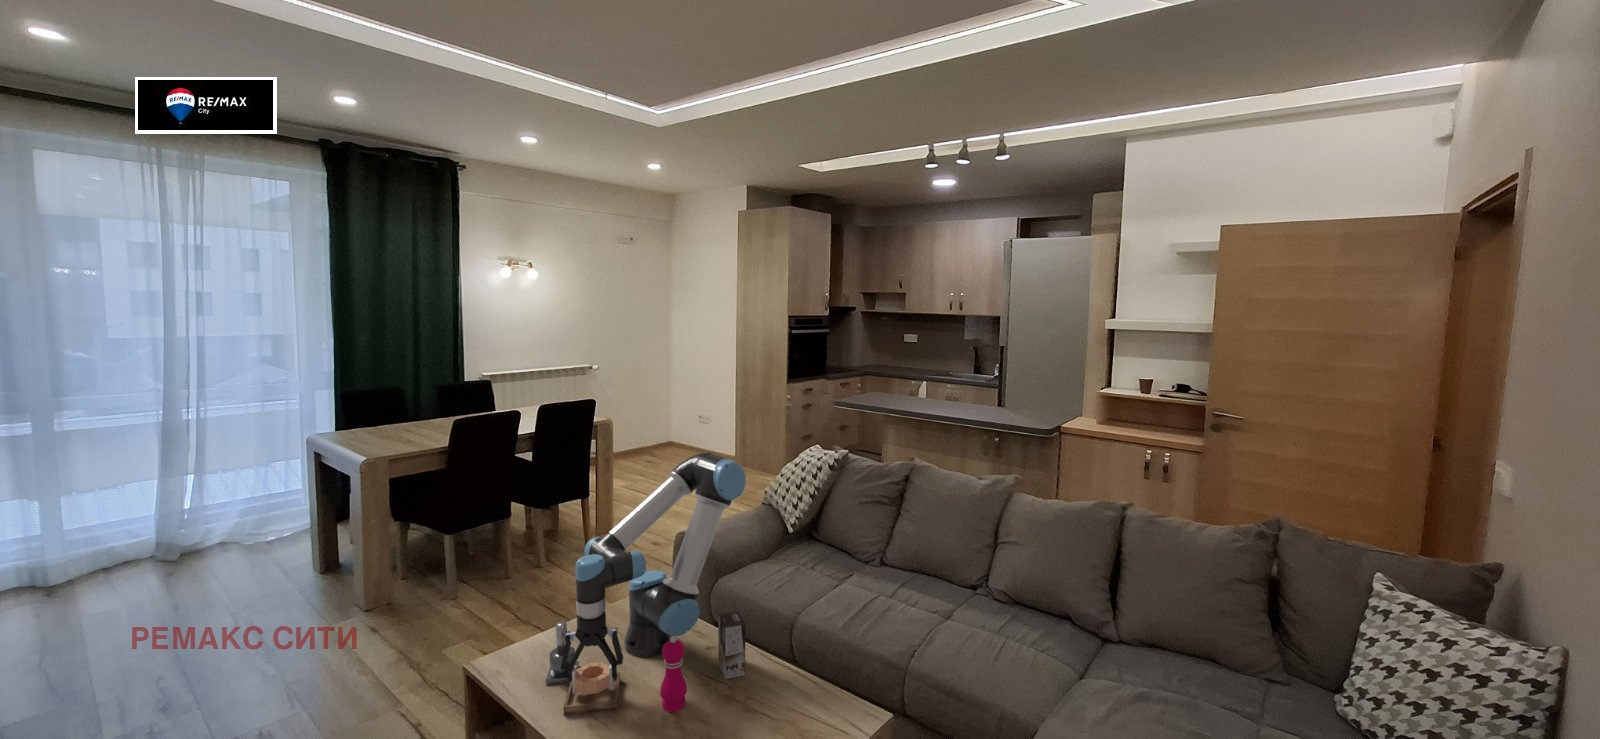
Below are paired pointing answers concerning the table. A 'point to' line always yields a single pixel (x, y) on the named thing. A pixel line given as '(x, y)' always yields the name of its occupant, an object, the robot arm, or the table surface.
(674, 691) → the pepper mill
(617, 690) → the tray
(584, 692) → the ring
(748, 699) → the table surface
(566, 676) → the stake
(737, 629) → the coffee box
